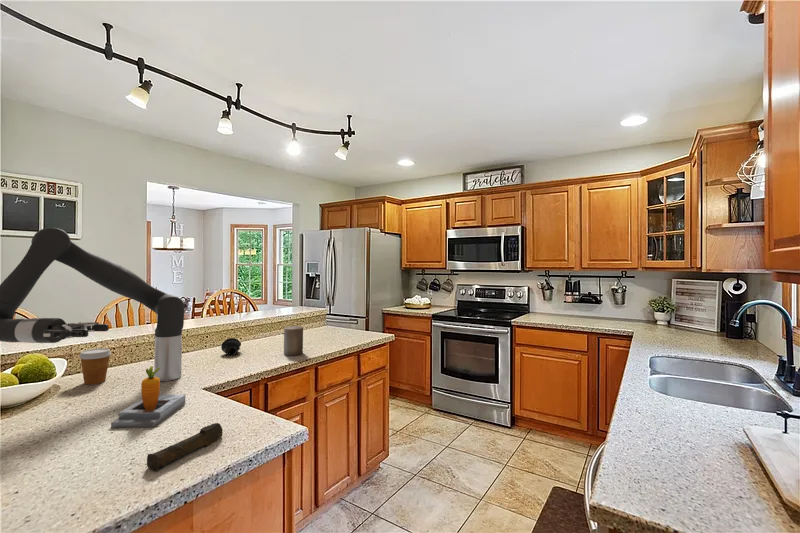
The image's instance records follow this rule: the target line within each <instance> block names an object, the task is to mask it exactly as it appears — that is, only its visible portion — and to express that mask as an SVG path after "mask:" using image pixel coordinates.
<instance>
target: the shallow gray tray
mask: <svg viewBox="0 0 800 533" xmlns="http://www.w3.org/2000/svg"><path fill="white" fill-rule="evenodd" d="M185 404H186V394H177V393H176V394H175V393H174V394H168V393H167V394H164V393H163V394H160V393H159V398H158V402H157V405H156V408H155V410H146V409H145V407H144V404H143V400H142V398H141V399H139V400H138V401H136V402H134V403H132V404H131V405H129V406H128V407H126V408H124V409H123V410H121V411H119V412H118V418H116V419H115V420H113V421H111V422H110V428H111V429H120V428H121V429H128V428H132V429H133V428H138V429H140V428H141V429H143V428H147V429H148V428H151V429H152V428H155V427H157V426H158V425H159V424H160V423H162V422H163V421H164V420H166V419H167V418H169V416H171V415H172V414H174V412H176V411H177V410H179V409H180V408H181V407H183V406H184V405H185Z"/></svg>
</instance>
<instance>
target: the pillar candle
mask: <svg viewBox="0 0 800 533" xmlns="http://www.w3.org/2000/svg"><path fill="white" fill-rule="evenodd" d="M303 348H304V327H303V326H301V325H291V326H285V327H283V355H284V356H287V357H289V356H300V355H301V356H302V355H303V353H304V351H303Z"/></svg>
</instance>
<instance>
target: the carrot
mask: <svg viewBox="0 0 800 533" xmlns="http://www.w3.org/2000/svg"><path fill="white" fill-rule="evenodd" d="M153 366H154V365H151V366H150V367H149V368H146V369H145V372H146V375H147V376H148V377H146V378H143V380H142V381H141V399H142V400H143V404H144V407H145V409H146V410H155V408H156V405H157V402H158V398H159V394H160V391H161V381H160V378H158V377H154V375H155V373H156V372H157V371H158V370H160V368H158V369H156V370H155V371H154V367H153Z"/></svg>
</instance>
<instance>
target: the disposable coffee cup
mask: <svg viewBox="0 0 800 533" xmlns="http://www.w3.org/2000/svg"><path fill="white" fill-rule="evenodd" d="M111 354H112V352H111V350H110V348H106V347H103V348H99V347H98V348H91V349H86V350H82V351H80V354H79V355H78V357H79V359H80V362H81V369H82V377H83V384H84V385H92V386H93V385H99V384H102V383H104V382H106V379H107V373H108V368H109V363H110V362H109V361H110V356H111Z"/></svg>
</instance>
